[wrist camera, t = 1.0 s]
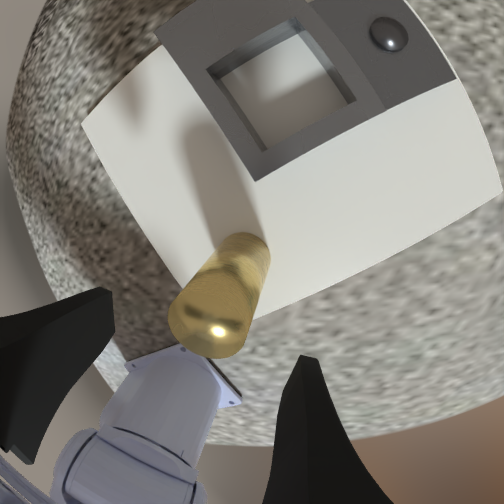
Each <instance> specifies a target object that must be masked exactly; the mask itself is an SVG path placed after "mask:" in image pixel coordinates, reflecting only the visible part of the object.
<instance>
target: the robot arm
mask: <svg viewBox="0 0 504 504" xmlns="http://www.w3.org/2000/svg"><path fill="white" fill-rule="evenodd" d="M114 333H115V325H114V313H113V300H112V292H111V291H109V290H107V289H104V288H102V287H97V288H94V289H90V290H88V291H85V292H82V293H79V294H76V295H74V296H71V297H68V298H65V299H63V300H60V301H57V302H55V303H52V304H49V305H46V306H43V307H40V308H36V309H33V310H30V311H27V312H23V313H19V314H15V315H10V316H6V317H0V448H1V449H2V450H3V451H4V452H5V453H7V452H8V451H9V450H11V451H12V452H13V453H14V454H15V455H16V456H17V457H18V458H19V459H20V460H21V461H23V462H24V463H25V464H28V465H31V464H34V461H35V458H36V455H37V452H38V449H39V447H40V444H41V441H42V439H43V437H44V435H45V432H46V430H47V428H48V426H49V424H50V422H51V420H52V418H53V417H54V415H55V413H56V411H57V409H58V408H59V406H60V404H61V403H62V401H63V400H64V398H65V396H66V395H67V393H68V392H69V391H70V389H71V388H72V386H73V385H74V384H75V383H76V382H77V380H78V379H79V378H80V377H81V376H82V375H83V374H84V372H85V371H86V370H87V369H88V368H89V367H90V365H91V364H92V363H93V362H94V361H95V360H96V358H97V357H98V356H99V355H100V354H101V352H102V351H103V350H104V348H105V347H106V345H107V344H108V342H109V341H110V339H111V338H112V336H113V334H114ZM183 347H184V346H183V345H182V344H181V343H179V344H176V345H174V346H171V347H168V348H165V349H162V350H160V351H157V352H154V353H151V354H148V355H145V356H142V357H139V358H137V359H134V360H131V361H128V362H126V363H125V364H124V366H125V368H126V369H127V370H128V372H129V374H128V375H127V377H126V378H125V380H124V381H123V382H122V384H121V385H120V386H119V388H118V389H117V391H116V392H115V393H114V395H113V396H112V398H111V399H110V400H109V402H108V403H107V405H106V406H105V407H104V409H103V411H102V413H101V416H100V429H99V431H97V430H95V429H94V428H89V429H85V430H81V431H79V432H77V433H76V434H75V435H74V436H73V437H72V438H71V439H70V440H69V441H68V443H67V444H66V445H65V447H64V448H63V450H62V451H61V453H60V455H59V457H58V459H57V461H56V464H55V467H54V472H53V476H54V478H53V483H52V486H51V490H50V492H49V494H50V498H49V497H48V496H47V495H45V494H44V493H43V492H42V491H40V490H39V489H38V488H36V487H35V486H34V485H33V484H32V483H30V482H29V481H28V480H27V479H26V478H24V477H23V476H22V475H21V474H20V473H19V472H18V471H16V470H15V469H14V468H13V467H12V466H11V465H10V464H9V463H8V462H7V461H6V460H5V459H4V458H3V457H2V456H1V455H0V475H1V476H2V477H3V478H4V479H5V480H6V481H7V482H8V483H9V484H10V485H11V486H12V487H13V488H15V489H16V490H17V491H18V492H19V493H20V494H21V495H22V496H24V497H25V498H26V499H27V500H28V501H30V502H31V503H32V504H207V493H206V491H205V489H204V485H203V484H202V483H200V482H197V481H196V479H197V476H198V473H199V471H198V470H196V469H195V467H196V465H197V462H198V459H199V457H200V454H201V452H202V449H203V446H204V444H205V441H206V439H207V436H208V433H209V431H210V428H211V425H212V423H213V420H214V417H215V415H216V412H217V409H220V408H225V407H230V406H235V405H240V404H241V403H242V398H241V397H240V396H239V395H238V394H237V393H236V392H235V390H234V389H233V388H232V387H231V386H230V385H229V384H228V383H227V382H226V381H225V380H224V378H223V377H222V376H221V375H220V374H219V373H218V372H217V371H216V369H215V368H214V367H213V366H212V365H211V364H210V363H209V361H208V360H207V359H206V358H205V357H203V356H200V355H197V354H195V353H193V352H191V351H190V350H188V349H187V348H185V347H184V348H185V349H184V348H183ZM19 493H17V492H16V491H15V490H14V489H12V488H11V487H10V486H8V485H7V484H6V483H5V482H3V481H2V480H1V479H0V504H30V503H28V502H27V500H25V498H23V497H22V496H21V495H20V494H19ZM262 504H394V503H393V502H392V501H391V500H390V499H389V498H388V497H387V496H386V495H385V493H384V492H383V491H382V489H381V488H380V487H379V485H378V484H377V483H376V481H375V480H374V479H373V478H372V476H371V475H370V473H369V472H368V471H367V469H366V468H365V466H364V464H363V463H362V461H361V460H360V458H359V456H358V455H357V453H356V451H355V449H354V448H353V446H352V444H351V442H350V440H349V438H348V436H347V434H346V432H345V430H344V428H343V426H342V424H341V421H340V419H339V417H338V414H337V412H336V409H335V407H334V404H333V402H332V399H331V397H330V394H329V391H328V389H327V386H326V383H325V380H324V377H323V374H322V371H321V367H320V364H319V361H318V359H316V358H312V357H308V356H304V355H300V356H299V358H298V361H297V363H296V365H295V367H294V369H293V371H292V373H291V375H290V377H289V379H288V381H287V383H286V385H285V387H284V389H283V393H282V397H281V401H280V406H279V410H278V415H277V423H276V432H275V441H274V450H273V458H272V466H271V472H270V477H269V481H268V485H267V488H266V492H265V496H264V499H263V503H262Z"/></svg>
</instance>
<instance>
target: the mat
mask: <svg viewBox="0 0 504 504" xmlns="http://www.w3.org/2000/svg"><path fill="white" fill-rule="evenodd" d="M305 1H306V2H307V3H309V2H311V1H314V0H305ZM403 1H404V2H405V3H406V4H407V5H408V7H409V8H410V9H411V10H412V11H413V13H414V14H415V15H416V17H417V18H418V19H419V21H420V22H421V23H422V25H423V26H424V27H425V29H426V30H427V31H428V33H429V34H430V36H431V37H432V39H433V40H434V42H435V43H436V45H437V46H438V48H439V49H440V51H441V52H442V54H443V56H444V57H445V59H446V60H447V62H448V64H449V65H450V67H451V69H452V71H453V72H454V74H455V76H456V78H457V79H455V80H453V81H450V82H448V83H446V84H443V85H441V86H439V87H436V88H434V89H432V90H429V91H427V92H425V93H423V94H420V95H418V96H416V97H414V98H412V99H409V100H407V101H405V102H403V103H401V104H399V105H397V106H395V107H392V108H390V109H388V110H387V111H385V112H383V113H381V114H379V115H377V116H375V117H373V118H371V119H369V120H367V121H365V122H363V123H361V124H359V125H357V126H355V127H353V128H352V129H350V130H348V131H346V132H344V133H342V134H340V135H338V136H336V137H334V138H332V139H331V140H329V141H327V142H325V143H323V144H321V145H320V146H318V147H316V148H314V149H312V150H310V151H309V152H307V153H305V154H303V155H301V156H300V157H298V158H296V159H294V160H293V161H291V162H289V163H287V164H286V165H284V166H282V167H280V168H279V169H277V170H275V171H273V172H272V173H270V174H268V175H267V176H265V177H263V178H262V179H260V180H258V181H257V182H255V181H254V180H253V178H252V177H251V175H250V173H249V172H248V170H247V169H246V167H245V166H244V164H243V162H242V161H241V159H240V158H239V156H238V155H237V153H236V151H235V150H234V148H233V147H232V145H231V144H230V142H229V141H228V139H227V138H226V136H225V135H224V133H223V131H222V130H221V128H220V127H219V125H218V124H217V122H216V121H215V119H214V118H213V116H212V115H211V113H210V112H209V110H208V109H207V107H206V106H205V104H204V103H203V102H202V100H201V99H200V97H199V96H198V94H197V93H196V91H195V90H194V88H193V87H192V85H191V84H190V83H189V81H188V80H187V78H186V77H185V75H184V74H183V73H182V71H181V70H180V68H179V67H178V65H177V64H176V63H175V61H174V60H173V58H172V57H171V56H170V54H169V53H168V51H167V50H166V49H165V47H164V46H163V45H161V46H159V47H158V48H157V49H156V50H154V51H153V52H152V53H151V54H150V55H148V56H147V57H146V58H145V59H144V60H143V61H142V62H140V63H139V64H138V65H137V66H136V67H135V68H134V69H133V70H132V71H131V72H129V73H128V74H127V75H126V76H125V77H124V78H123V79H122V80H121V81H120V82H119V83H118V84H117V85H116V86H115V87H114V88H113V89H112V90H111V91H110V92H109V93H108V94H107V95H106V96H105V97H104V98H103V99H102V101H101V102H100V103H99V104H98V105H97V106H96V107H95V108H94V109H93V111H92V112H91V113H90V114H89V115H88V116H87V117H86V119H85V120H84V121H83V122H82V123H81V125H82V127H83V129H84V131H85V133H86V135H87V137H88V138H89V140H90V142H91V144H92V146H93V148H94V150H95V151H96V153H97V155H98V157H99V159H100V160H101V162H102V164H103V166H104V168H105V169H106V171H107V173H108V175H109V176H110V178H111V180H112V181H113V183H114V185H115V187H116V188H117V190H118V192H119V193H120V195H121V197H122V198H123V200H124V202H125V203H126V205H127V206H128V208H129V210H130V211H131V213H132V215H133V216H134V218H135V219H136V221H137V222H138V224H139V226H140V227H141V229H142V230H143V232H144V233H145V235H146V236H147V238H148V239H149V241H150V242H151V244H152V245H153V247H154V248H155V250H156V251H157V253H158V254H159V256H160V257H161V259H162V260H163V262H164V263H165V265H166V266H167V268H168V269H169V270H170V272H171V273H172V275H173V276H174V278H175V279H176V280H177V282H178V283H179V285H180V286H181V287H182V289H184V287H185V286H186V285H187V284H188V282H189V281H190V280H191V279H192V278H193V276H194V275H195V274H196V273H197V272H198V270H199V269H200V268H201V267H202V265H203V264H204V263H205V262H206V261H207V259H208V258H209V257H210V256H211V255H212V253H213V252H214V251H215V250H216V249H217V248H218V246H219V245H220V244H221V243H222V242H223V240H224V239H225V238H227V237H228V236H229V235H231V234H234V233H238V232H246V233H251V234H253V235H255V236H257V237H259V238H260V239H261V240H263V242H264V243H265V244H266V245H267V247H268V249H269V251H270V255H271V263H270V267H269V270H268V273H267V277H266V280H265V283H264V286H263V289H262V292H261V295H260V298H259V301H258V304H257V307H256V310H255V313H254V316H253V319H252V320H254V319H256V318H258V317H261V316H263V315H266V314H268V313H270V312H273V311H275V310H278V309H280V308H282V307H285V306H287V305H289V304H291V303H294V302H296V301H298V300H301V299H303V298H305V297H307V296H310V295H312V294H314V293H316V292H318V291H321V290H323V289H325V288H327V287H329V286H331V285H334V284H336V283H338V282H340V281H342V280H344V279H346V278H348V277H350V276H352V275H355V274H357V273H359V272H361V271H363V270H365V269H367V268H369V267H371V266H373V265H375V264H377V263H379V262H381V261H383V260H385V259H387V258H389V257H390V256H392V255H394V254H396V253H398V252H400V251H402V250H404V249H406V248H408V247H410V246H411V245H413V244H415V243H417V242H419V241H421V240H422V239H424V238H426V237H428V236H430V235H432V234H433V233H435V232H437V231H439V230H440V229H442V228H444V227H446V226H447V225H449V224H451V223H453V222H454V221H456V220H458V219H459V218H461V217H463V216H465V215H466V214H468V213H470V212H471V211H473V210H475V209H476V208H478V207H479V206H481V205H483V204H484V203H486V202H487V201H489V200H491V199H492V198H494V197H495V196H497V195H498V194H500V193H502V192H503V189H502V185H501V182H500V178H499V175H498V171H497V168H496V165H495V161H494V158H493V155H492V152H491V149H490V147H489V144H488V141H487V138H486V136H485V133H484V131H483V128H482V126H481V123H480V121H479V118H478V116H477V114H476V112H475V109H474V107H473V105H472V103H471V101H470V99H469V97H468V95H467V93H466V91H465V89H464V87H463V85H462V83H461V81H460V79H459V77H458V75H457V74H456V72H455V70H454V68H453V67H452V65H451V63H450V61H449V60H448V58H447V57H446V55H445V53H444V52H443V50H442V49H441V47H440V45H439V44H438V42H437V41H436V39H435V38H434V37H433V35H432V34H431V32H430V31H429V29H428V28H427V27H426V25H425V24H424V23H423V21H422V20H421V19H420V17H419V16H418V15H417V13H416V12H415V11H414V10H413V8H412V7H411V6H410V5H409V3H408V2H407V1H406V0H403ZM221 81H222V82H223V83H224V85H225V86H226V88H227V89H228V90H229V92H230V93H231V95H232V96H233V98H234V99H235V101H236V102H237V103H238V105H239V106H240V108H241V109H242V111H243V112H244V114H245V115H246V117H247V118H248V120H249V121H250V123H251V124H252V126H253V127H254V129H255V130H256V132H257V133H258V135H259V136H260V138H261V140H262V141H263V143H264V144H265V146H266V147H267V149H269V148H271V147H272V146H274V145H276V144H277V143H279V142H281V141H283V140H284V139H286V138H288V137H289V136H291V135H293V134H295V133H296V132H298V131H300V130H302V129H304V128H305V127H307V126H309V125H311V124H313V123H315V122H316V121H318V120H320V119H322V118H324V117H326V116H328V115H329V114H331V113H333V112H335V111H337V110H339V109H341V108H343V107H345V106H347V105H348V104H347V102H346V100H345V99H344V97H343V96H342V94H341V93H340V91H339V90H338V88H337V87H336V85H335V84H334V82H333V81H332V79H331V78H330V76H329V75H328V73H327V72H326V71H325V69H324V68H323V66H322V65H321V64H320V62H319V61H318V60H317V58H316V57H315V56H314V54H313V53H312V52H311V50H310V49H309V48H308V46H307V45H306V44H305V43H304V41H303V40H302V39H301V38H300V36H299V35H298V34H296V35H294V36H292V37H291V38H289V39H287V40H285V41H283V42H281V43H279V44H277V45H275V46H273V47H272V48H270V49H268V50H266V51H264V52H263V53H261V54H259V55H257V56H256V57H254V58H252V59H251V60H249V61H247V62H246V63H244V64H243V65H241V66H239V67H238V68H236V69H235V70H233V71H231V72H230V73H228V74H227V75H225V76H224V77H222V78H221Z"/></svg>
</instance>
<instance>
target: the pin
mask: <svg viewBox="0 0 504 504" xmlns="http://www.w3.org/2000/svg"><path fill="white" fill-rule="evenodd" d="M270 263H271V255H270V251H269V249H268V247H267V245H266V244H265V243H264V242H263V240H261V239H260V238H259V237H257V236H255V235H253V234H251V233H246V232H238V233H234V234H231V235H229V236H228V237H227V238H225V239H224V240H223V242H222V243H221V244H220V245H219V246H218V248H217V249H216V250H215V251H214V252H213V253H212V255H211V256H210V257H209V258H208V259H207V261H206V262H205V263H204V264H203V265H202V267H201V268H200V269H199V270H198V272H197V273H196V274H195V275H194V276H193V278H192V279H191V280H190V281H189V282H188V284H187V285H186V286H185V287H184V289H183V290H182V291H181V292H180V293H179V295H178V296H177V297H176V298H175V300H174V301H173V302H172V303H171V305H170V307H169V310H168V324H169V327H170V329H171V332H172V333H173V335H174V336H175V338H176V339H177V340H178V341H179V342H180V343H181V344H182V345H183V346H184V347H185V348H187V349H188V350H190V351H191V352H193V353H195V354H197V355H200V356H203V357H206V358H213V359H221V358H227V357H230V356H232V355H234V354H236V353H237V352H238V351H239V350H240V349H241V348H242V347H243V345H244V343H245V340H246V337H247V334H248V331H249V328H250V325H251V322H252V319H253V316H254V313H255V310H256V307H257V304H258V301H259V298H260V295H261V292H262V289H263V286H264V283H265V280H266V277H267V273H268V270H269V267H270Z"/></svg>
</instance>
